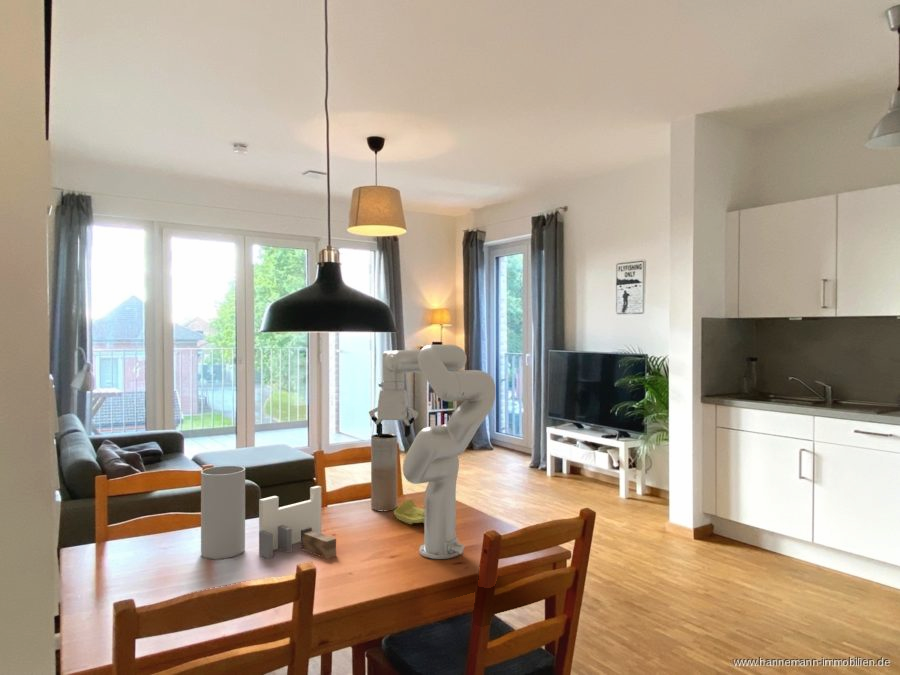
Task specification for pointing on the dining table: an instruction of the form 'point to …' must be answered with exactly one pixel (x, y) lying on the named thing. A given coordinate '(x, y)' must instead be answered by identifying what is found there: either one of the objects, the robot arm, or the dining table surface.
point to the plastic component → (409, 512)
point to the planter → (384, 472)
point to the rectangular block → (318, 543)
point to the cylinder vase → (222, 512)
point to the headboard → (287, 522)
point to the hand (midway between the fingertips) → (393, 436)
